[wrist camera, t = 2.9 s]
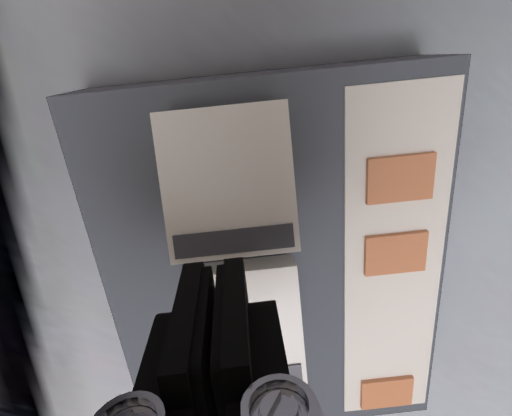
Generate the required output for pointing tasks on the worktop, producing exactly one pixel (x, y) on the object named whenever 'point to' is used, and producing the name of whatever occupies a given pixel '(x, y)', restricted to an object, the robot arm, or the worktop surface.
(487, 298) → the worktop surface
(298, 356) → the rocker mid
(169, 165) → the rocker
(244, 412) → the robot arm
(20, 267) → the worktop surface
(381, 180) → the switch unit
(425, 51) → the worktop surface
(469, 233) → the worktop surface
